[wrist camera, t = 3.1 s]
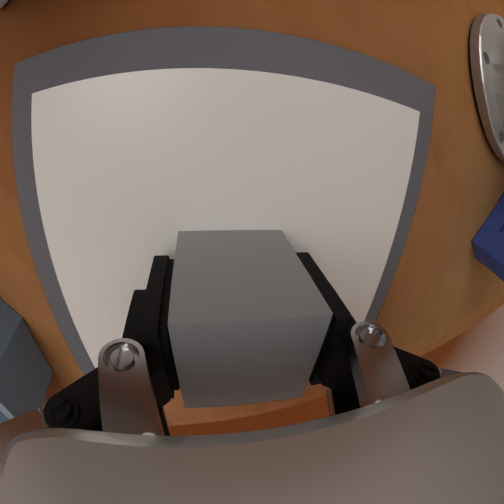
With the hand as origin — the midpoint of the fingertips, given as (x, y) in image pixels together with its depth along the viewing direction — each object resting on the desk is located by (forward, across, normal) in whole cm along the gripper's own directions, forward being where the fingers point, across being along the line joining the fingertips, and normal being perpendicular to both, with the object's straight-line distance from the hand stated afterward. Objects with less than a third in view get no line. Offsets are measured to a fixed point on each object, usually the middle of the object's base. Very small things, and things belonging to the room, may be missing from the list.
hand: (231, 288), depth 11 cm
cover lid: (+2, 0, 0) cm, 2 cm away
